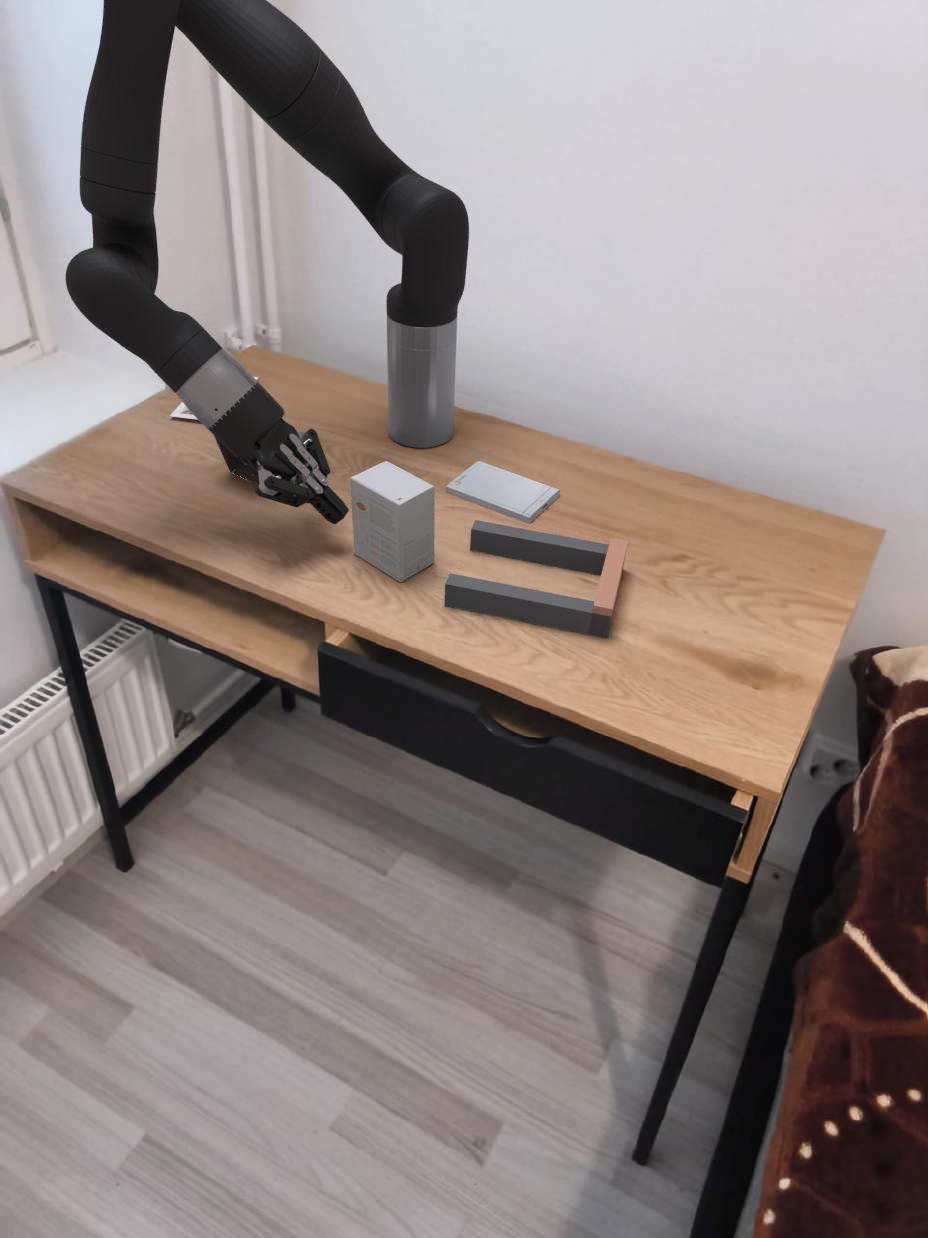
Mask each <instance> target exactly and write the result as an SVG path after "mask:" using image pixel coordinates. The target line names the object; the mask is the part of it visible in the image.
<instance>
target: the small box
mask: <svg viewBox="0 0 928 1238" xmlns="http://www.w3.org/2000/svg"><path fill="white" fill-rule="evenodd" d="M349 480H350V482H349V483H350V496H351V497H350V499H351V513H352V515H351V516H352V532H353V550H354V555H356V556H357V557H360V559H363V560H364V561H365V562H367V563H369V564H370V565H372V566H374V567H375V568H377V569H378V570H380V571H381V572H383V573H385V574H386V575H388V576H390V577H391V578H393V579H394V580H396V581H398V582H399V583H402V582H404V581H406V580H407V579H409V578H410V577H412V576H415V575H416V574H417V573H418V572H421V571H422V570H424V569H426V568H427V567H430V566H431V565H432V564H434V563H435V508H436V507H435V500H436V499H435V496H436V495H435V494H436V493H435V487H436V486H435V485H433V484H431V483H429V482H427V481H425V480H423V479H422V478H420V477H417V475H416V476H415V475H414V474H412V473H410V472H408V471H407V470H404V469H402V468H400V467H398V466H397V465H395V464H393V463H391V462H389V461H387V460H385V461H384V462H380V463H379V464H377V465H374V466H372V467H370V468H368V469H366V470H364V471H362V472H360V473H357V474H355V475H353V476H351V477H350V479H349Z"/></svg>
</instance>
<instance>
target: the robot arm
mask: <svg viewBox="0 0 928 1238" xmlns="http://www.w3.org/2000/svg"><path fill="white" fill-rule="evenodd" d="M102 10H103V11H102V23H101V32H100V37H99V38H100V39H99V43H98V44H99V46H98V48H97V54H96V59H95V64H94V67H93V71H92V75H91V79H90V83H89V86H88V91H87V95H86V99H85V105H84V110H83V117H82V123H81V125H82V127H81V137H80V139H81V140H80V155H79V156H80V158H79V159H80V160H79V197H80V202H81V204H82V207H83V208H84V209H85V211H86V212H88V213H89V214H90V216H91V227H92V247H90V248H87V249H84V250H81V251H80V252H78V253H77V254H76V255H74V256H73V257H72V258H71V259H70V261H68V264H67V267H66V271H65V286H66V290H67V292H68V295H69V297H70V299H71V301H72V302H73V304H74V305H75V306H76V308H77V309H78V311H79V312H80V313H81V315H83V316H84V318H85V319H87V320H88V321H89V322H90V324H92V325H93V326H94V327H96V329H98V330H100V331H101V332H102V333H104V334H105V336H107V337H109V338H110V339H112V340H113V341H114V342H115V343H117V344H118V345H120V346H121V347H123V348H124V349H125V350H127V351H128V352H129V353H131V354H133V355H135V356H136V357H137V358H139V359H140V360H142V361H143V362H144V363H146V364H147V366H149V368H150V369H151V370H152V371H153V373H155V374H156V375H157V377H159V378H160V379H161V380H162V382H163V383H165V384H166V385H167V386H168V387H169V388H170V390H171V391H173V393H176V394H175V395H176V396H177V397H178V398H179V399H180V400H181V401H182V402H183V403H184V404H185V405H186V407H187V408H188V409H189V410H190V412H191V413H192V414H193V415H194V416H195V417H196V418H197V419H198V421H199V422H200V423H201V424H202V425H203V426H204V427H205V428H206V429H207V430H208V431H209V432H210V433H211V434H212V436H213V437H214V436H215V437H216V438H217V439H218V440H219V441H220V442H221V443H222V444H223V445H224V446H225V447H226V448H227V449H228V450H229V451H230V452H231V453H232V454H233V455H234V456H236V457H241V456H244V457H245V458H246V459H247V460H248V461H249V463H250V465H251V467H252V469H253V470H254V471H255V472H257V473H258V477H259V482H260V484H259V485H257V486H256V487H255V488H254V492H255V494H256V495H257V496H258V497H260V498H264V499H267V500H271V501H273V502H277V503H280V504H284V505H287V506H290V507H292V508H300V507H301V506H303V505H305V504H309V505H310V506H312V507H313V508H314V509H315V510H316V512H318V513H319V514H320V515H321V516H322V517H323V519H324V520H326V521H327V522H329V523H330V524H332V525H337V524H338V523H340V522H341V521H342V520H344V519H345V517H346V516H347V514H348V513H349V511H350V510H349V509H350V508H349V507H348V506H347V505H346V503H345V502H344V501H343V499H342V498H341V497H339V495H337V493H336V492H335V491H334V490H333V489H332V488H331V487H330V485H329V480H328V476H329V475H331V468H330V466H329V463H328V459H327V457H326V455H325V452H324V449H323V446H322V444H321V441H320V438H319V436H318V433H317V431H316V430H315V429H314V428H309V429H308V430H307V431H305V432H303V431H297V429H296V428H295V427H294V425H292V424H290V423H288V422H286V421H285V420H284V419H283V417H284V416H285V413H286V412H285V408H284V407H283V406H282V405H281V404H280V403H279V402H278V401H277V400H276V399H275V398H274V397H273V396H272V395H271V394H270V393H269V391H268V390H266V389H265V388H264V386H262V384H261V383H260V382H259V381H258V379H257V380H256V379H255V378H254V377H255V376H253V374H251V372H249V370H247V368H246V367H244V366H243V364H241V362H239V361H238V360H237V359H236V358H234V357H233V356H232V355H231V354H229V353H228V352H227V351H226V349H224V348H223V347H222V346H221V345H220V344H219V342H217V340H216V339H214V338H213V336H212V335H210V333H209V332H208V331H207V330H206V329H204V326H202V325H201V324H200V323H199V322H198V321H197V319H196V318H194V317H193V316H191V315H190V314H189V313H186V312H183V311H181V310H180V311H179V310H174V309H173V308H171V307H170V306H169V305H167V304H166V303H165V302H164V301H163V300H162V299H161V298H159V297H158V296H157V295H156V294H155V293H156V290H157V286H158V281H159V280H158V278H159V266H160V265H159V248H158V237H157V236H158V235H157V228H156V221H155V211H154V210H155V204H156V203H155V202H156V192H157V184H158V183H157V182H158V181H157V179H158V170H159V169H158V168H159V167H158V165H159V154H160V152H159V151H160V140H161V139H160V138H161V128H162V127H161V126H162V118H163V117H162V114H163V105H164V97H165V90H166V81H167V75H168V70H169V62H170V56H171V51H172V47H173V46H172V44H173V40H174V35H175V30H176V29H178V30H179V31H180V32H181V33H182V34H183V35H184V37H186V38H187V39H188V40H189V42H191V44H192V45H193V46H194V47H195V48H196V49H197V51H199V53H200V54H201V55H202V56H203V57H204V59H206V61H207V62H208V63H209V64H210V65H211V66H212V68H213V69H214V70H215V71H216V72H217V73H218V74H219V75H220V76H221V77H222V78H223V79H224V80H225V81H226V82H227V84H229V86H230V87H231V88H232V89H233V90H234V91H235V92H236V93H237V95H239V96H240V97H241V99H242V100H243V101H245V103H246V104H247V105H248V106H249V107H250V108H251V109H252V110H253V111H254V112H255V113H256V115H258V117H259V118H260V119H262V120H263V122H265V123H266V124H267V125H268V126H269V127H270V128H271V129H272V130H273V132H274V133H275V134H277V136H278V137H279V138H280V139H282V140H283V142H285V143H287V144H288V146H289V147H291V148H292V149H293V150H295V152H296V153H297V154H298V155H300V156H301V157H302V159H304V160H306V162H307V163H308V164H309V165H311V166H313V167H314V168H315V169H316V170H317V171H319V172H320V173H322V174H323V175H324V176H326V177H327V178H328V179H329V180H330V181H332V182H333V183H334V184H335V185H337V187H338V188H339V189H340V190H342V192H343V193H344V194H345V196H346V197H348V199H349V200H350V201H351V202H352V204H353V205H354V206H355V207H356V209H357V210H358V211H359V212H360V213H361V215H362V216H363V217H364V219H366V221H367V222H368V223H369V225H370V227H372V229H373V230H374V231H375V232H376V234H377V235H378V236H379V237H380V239H381V240H382V241H383V242H384V243H385V244H386V245H387V246H388V247H389V248H390V249H391V250H393V251H394V252H396V253H398V254H399V255H401V257H402V258H401V263H402V264H401V281H400V282H399V283H397V284H395V285H394V286H392V287H391V288H390V289H389V290H388V291H387V294H386V304H385V305H386V306H385V307H386V348H387V349H386V351H387V355H386V356H387V361H386V362H387V365H386V366H387V428H388V429H387V431H388V436H389V437H390V439H392V440H393V441H394V442H396V443H398V444H400V445H403V446H407V447H409V448H418V449H419V448H420V449H421V448H422V449H423V448H433V447H438V446H440V445H443V444H445V443H447V442H448V441H450V440H451V439H452V437H453V434H454V420H455V419H454V414H455V393H456V392H455V391H456V390H455V389H456V369H457V367H456V364H457V337H458V336H457V335H458V334H457V332H458V330H457V329H458V307H459V304H460V301H461V299H462V296H463V295H464V290H465V285H466V279H467V278H466V277H467V276H466V275H467V266H468V255H469V254H468V252H469V242H470V222H469V220H470V219H469V215H468V211H467V207H466V204H465V203H464V201H463V200H462V198H461V196H459V195H458V194H456V193H455V192H454V191H452V190H450V189H449V188H447V187H444V186H443V185H440V184H438V183H437V182H434V181H433V180H430V179H429V178H426V177H424V176H423V175H421V174H419V173H418V172H417V171H415V170H414V169H413V168H412V167H410V166H409V165H408V164H407V163H406V162H405V161H404V160H402V159H401V158H400V157H399V156H398V155H397V153H395V152H394V151H393V150H392V149H391V148H390V147H388V145H387V144H386V143H385V142H384V141H383V140H382V139H381V138H380V136H379V134H377V132H376V130H375V129H374V127H373V126H372V125H371V124H372V123H371V122H370V120H369V118H368V116H367V114H366V112H365V109H364V106H363V105H362V103H361V101H360V99H359V98H358V95H357V93H356V92H355V90H354V88H353V87H352V85H351V84H350V82H349V81H348V79H347V78H346V77H345V75H344V74H343V73H342V71H341V70H340V69H339V68H338V67H337V65H335V63H334V62H333V61H332V60H331V59H330V57H328V55H327V53H325V52H324V51H323V50H322V49H321V47H320V46H319V45H318V43H317V42H315V41H314V39H312V38H311V37H310V35H309V34H308V33H306V31H304V29H302V28H301V27H300V26H299V25H298V24H297V23H296V22H294V21H293V20H292V18H290V17H289V16H287V15H286V14H285V13H284V12H283V11H281V9H278V7H276V6H274V5H273V4H272V3H271V2H269V1H268V0H103V9H102ZM175 28H176V29H175ZM215 437H214V438H215Z"/></svg>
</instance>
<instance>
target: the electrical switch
mask: <svg viewBox="0 0 928 1238" xmlns="http://www.w3.org/2000/svg"><path fill="white" fill-rule="evenodd" d="M213 437H214V439H215V441H216V444H217V446H218V448H219V450H220V452H221V455H222V457H223V460H224V461H225V464H226V467H227V468H228V470H229V473H230V474H232V473H234V474H235V475H236V476H235V475H234V476H235V477H238V476H239V477H238V478H240V476H241V477H242V478H244V479H243V480H245V479H247V480H248V481H247V480H246V481H247V482H249V481H251V482H250V483H252V484H254V485H257V486H258V485H259V484H260V482H259V475H258V473H257V472H255V471H254V470H253V469H252V467H251V465H250V463H249V461H248V460H247V459H246V458H245V457H244V456H241V457H236V456H234V455H233V454H232V453H231V452H230V451H229V450H228V449H227V448H226V447H225V446H224V445H223V444H222V443H221V442H220V441H219V440H218V439H217V438H216V437H215V436H214V435H213ZM237 475H238V476H237ZM242 478H241V479H242Z"/></svg>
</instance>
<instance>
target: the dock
mask: <svg viewBox="0 0 928 1238" xmlns="http://www.w3.org/2000/svg"><path fill="white" fill-rule="evenodd" d="M628 544H629V540H626V539H620V538H616V537H615V538H614V537H610V539H609V543H608V544H607V543H603V542H597V541H591V540H588V539H587V540H586V539H581V538H576V537H570V536H565V535H560V534H559V535H558V534H553V533H548V532H543V531H536V530H532V529H525V528H520V527H515V526H511V525H510V526H509V525H505V524H498V523H494V522H489V521H484V520H483V521H482V520H477V519H475V520H474V523H473V524H472V527H471V528H470V544H469V551H473V552H479V553H484V554H489V555H493V556H498V557H499V556H500V557H505V558H510V559H515V560H520V561H527V562H531V563H536V564H543V565H547V566H552V567H558V568H561V569H562V568H563V569H568V570H573V571H578V572H584V573H590V574H595V575H599V576H600V578H599V583H598V586H597V590H596V594H595V598H594V600H588V599H584V598H579V597H573V596H568V595H564V594H558V593H553V592H548V591H544V590H538V589H533V588H528V587H523V586H517V585H512V584H507V583H501V582H497V581H491V580H486V579H482V578H477V577H473V576H466V575H463V574H461V575H460V574H456V573H452V572H449V574H448V577H447V579H446V581H445V583H444V600H443V601H444V602H443V603H444V606H445V607H450V608H456V609H460V610H466V611H469V612H475V613H479V614H483V615H484V614H485V615H489V616H495V617H498V618H503V619H504V618H505V619H509V620H514V621H520V622H525V623H530V624H534V625H539V626H545V627H550V628H554V629H558V630H564V631H568V632H574V633H579V634H584V635H588V636H592V637H593V636H594V637H598V638H603V639H608V636H609V632H610V627H611V624H612V618H613V615H614V614H613V613H614V610H615V606H616V600H617V597H618V592H619V588H620V585H621V584H620V583H621V579H622V576H623V570H624V566H625V561H626V555H627V548H628Z"/></svg>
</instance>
